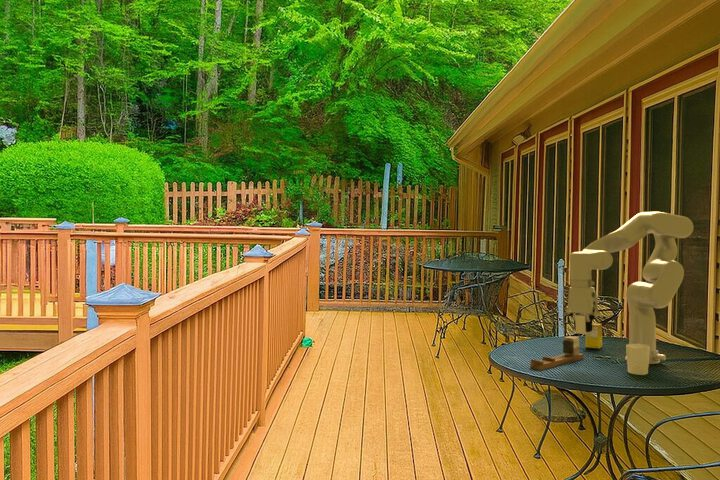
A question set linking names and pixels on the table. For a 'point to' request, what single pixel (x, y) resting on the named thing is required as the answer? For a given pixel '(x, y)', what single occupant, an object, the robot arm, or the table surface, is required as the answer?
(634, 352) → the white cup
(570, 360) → the rail
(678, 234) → the robot arm
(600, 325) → the supplement box
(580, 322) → the cream brown block
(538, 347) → the table surface
